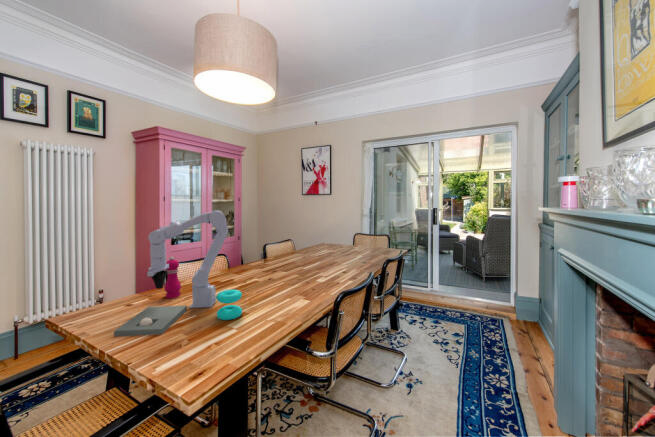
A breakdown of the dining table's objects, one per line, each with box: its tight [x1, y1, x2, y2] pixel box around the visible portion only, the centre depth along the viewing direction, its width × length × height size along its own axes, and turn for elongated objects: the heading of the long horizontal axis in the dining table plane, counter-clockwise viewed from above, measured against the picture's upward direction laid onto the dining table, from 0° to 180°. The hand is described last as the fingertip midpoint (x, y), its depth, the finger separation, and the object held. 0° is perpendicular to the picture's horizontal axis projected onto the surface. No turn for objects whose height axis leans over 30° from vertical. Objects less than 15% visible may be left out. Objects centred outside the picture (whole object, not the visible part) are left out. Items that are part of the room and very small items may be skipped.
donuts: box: [216, 288, 243, 321], centre depth 114 cm, size 10×10×10 cm
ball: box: [140, 318, 152, 326], centre depth 103 cm, size 4×4×4 cm
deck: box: [113, 305, 188, 337], centre depth 108 cm, size 16×22×2 cm
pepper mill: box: [164, 256, 182, 299], centre depth 137 cm, size 7×7×20 cm
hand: (159, 288), depth 120 cm, fingers closed
